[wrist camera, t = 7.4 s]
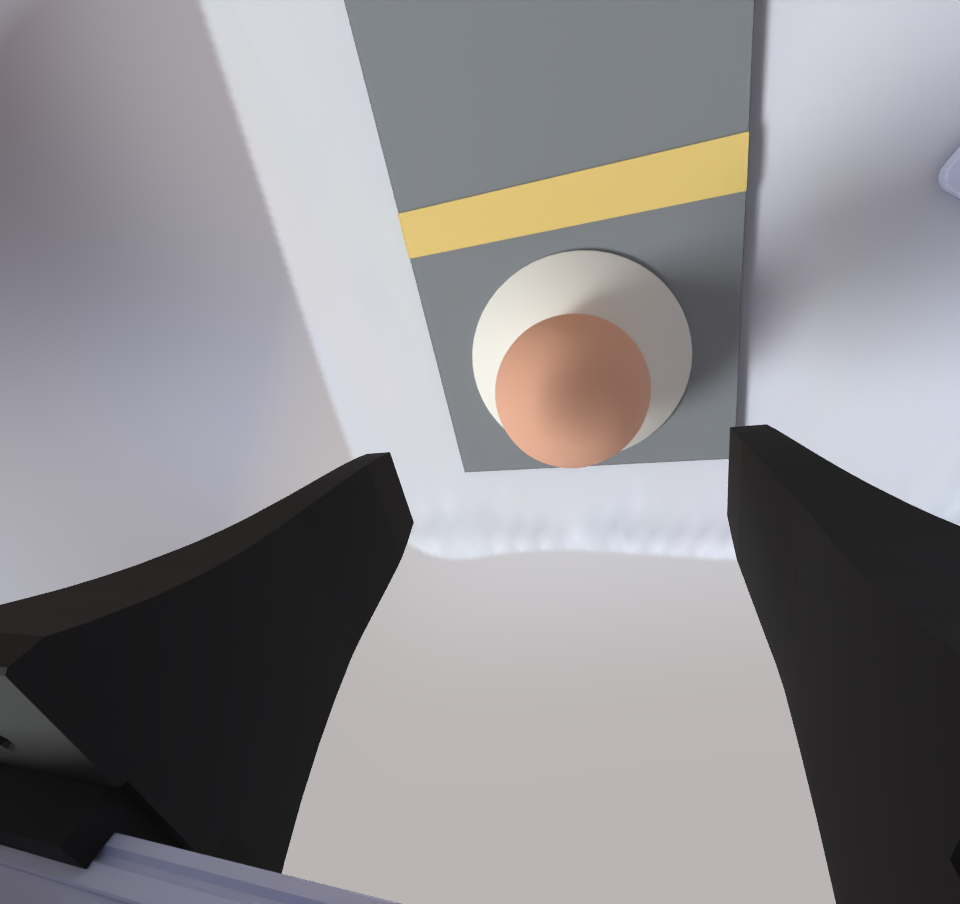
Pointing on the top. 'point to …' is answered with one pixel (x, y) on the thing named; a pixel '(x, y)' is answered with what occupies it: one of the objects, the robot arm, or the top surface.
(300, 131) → the top surface
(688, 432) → the mat
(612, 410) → the ball
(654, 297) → the white disc
